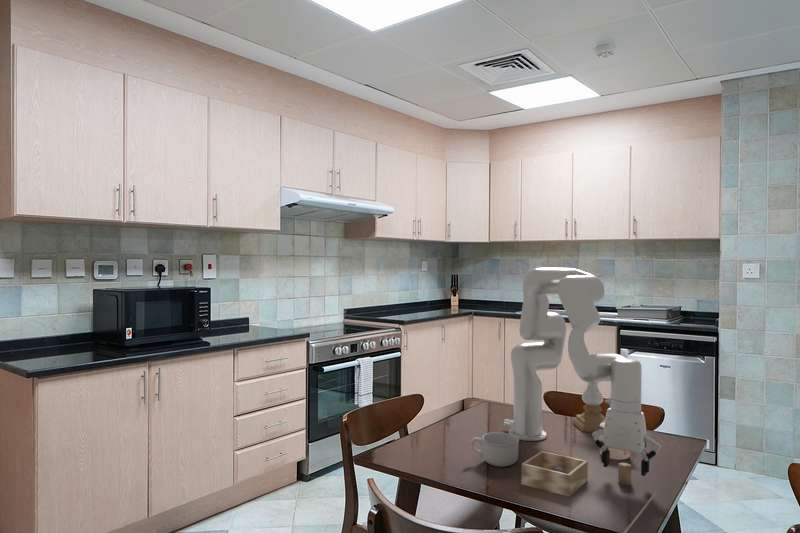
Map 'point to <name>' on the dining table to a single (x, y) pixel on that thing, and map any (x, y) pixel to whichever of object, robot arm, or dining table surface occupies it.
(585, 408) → the candle holder
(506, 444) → the teacup
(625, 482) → the lid
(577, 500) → the dining table surface
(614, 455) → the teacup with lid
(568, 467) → the box
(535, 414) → the robot arm
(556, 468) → the ball
